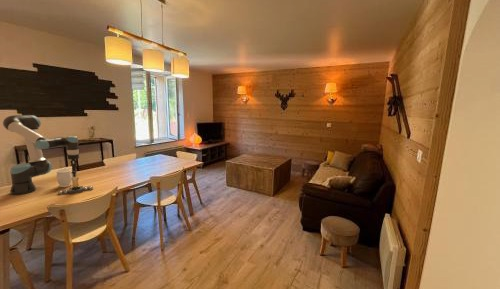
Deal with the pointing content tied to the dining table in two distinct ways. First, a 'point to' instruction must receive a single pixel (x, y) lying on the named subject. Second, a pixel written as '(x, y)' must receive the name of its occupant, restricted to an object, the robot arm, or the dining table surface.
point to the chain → (75, 190)
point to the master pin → (75, 184)
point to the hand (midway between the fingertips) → (74, 177)
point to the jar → (64, 177)
